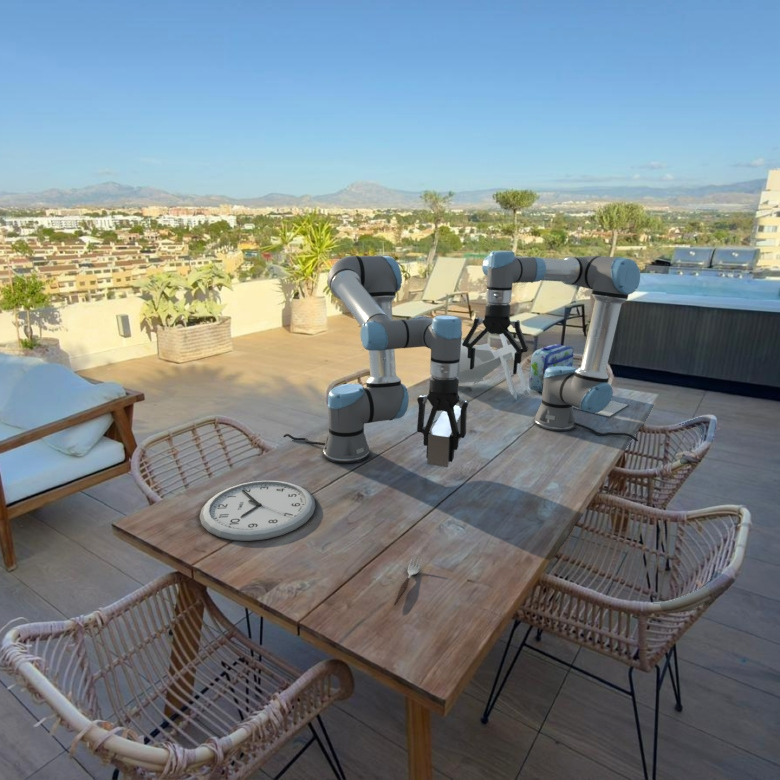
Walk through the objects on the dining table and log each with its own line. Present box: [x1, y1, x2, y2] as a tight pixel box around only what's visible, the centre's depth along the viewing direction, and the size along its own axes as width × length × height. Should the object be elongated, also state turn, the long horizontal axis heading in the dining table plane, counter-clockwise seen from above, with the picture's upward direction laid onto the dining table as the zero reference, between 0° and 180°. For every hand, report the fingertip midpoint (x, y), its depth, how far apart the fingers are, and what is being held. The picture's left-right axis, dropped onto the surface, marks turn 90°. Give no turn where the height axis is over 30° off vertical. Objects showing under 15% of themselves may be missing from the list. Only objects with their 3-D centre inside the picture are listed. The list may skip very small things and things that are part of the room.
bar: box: [426, 405, 462, 468], centre depth 149 cm, size 25×6×9 cm, turn 163°
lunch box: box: [528, 344, 574, 393], centre depth 247 cm, size 26×11×21 cm, turn 134°
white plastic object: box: [458, 333, 531, 400], centre depth 245 cm, size 37×45×31 cm
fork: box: [393, 553, 424, 606], centre depth 112 cm, size 3×16×2 cm, turn 160°
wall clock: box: [199, 480, 316, 542], centre depth 140 cm, size 30×2×30 cm
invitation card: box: [573, 400, 629, 418], centre depth 226 cm, size 21×1×15 cm
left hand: (440, 457), depth 142 cm, fingers closed on bar, 6 cm apart
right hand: (493, 370), depth 165 cm, fingers open, 13 cm apart
